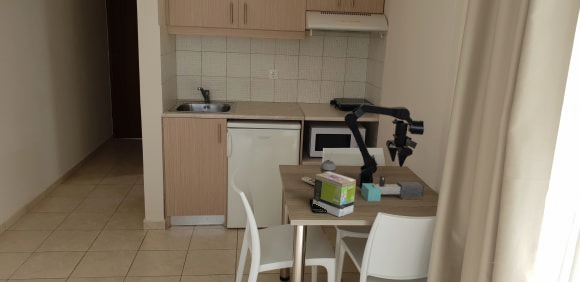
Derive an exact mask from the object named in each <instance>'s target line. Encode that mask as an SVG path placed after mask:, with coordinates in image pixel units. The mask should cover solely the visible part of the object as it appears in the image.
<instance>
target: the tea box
mask: <svg viewBox="0 0 580 282" xmlns="http://www.w3.org/2000/svg"><path fill="white" fill-rule="evenodd" d="M356 186H357V179H355V178H352V177H349V176H346V175H342V174H339V173H336V172H335V173H333V172H330V171H329V172H325V173H321V172H320V173H316V174H314V185H313V187H314V188H313V199H312V205H313V204H316V205H318V206H320V207H322V208H324V209H326V210H327V212H326V213H328V214H331V215H333V216H335V217H338V218H339V217H340V218H341V217H343V216H347V215H350V214H352V213H354V206H355V205H354V204H355V196H356Z"/></svg>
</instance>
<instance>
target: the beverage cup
mask: <svg viewBox="0 0 580 282" xmlns="http://www.w3.org/2000/svg"><path fill="white" fill-rule="evenodd" d="M332 156H333V151H331V152H330V157H329V159H327V160H324V161H323V162H321V166H320V173H325V172H329V171H330V172H333V173H336V170H337V168H336V164H335V162H334V161H332Z"/></svg>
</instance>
